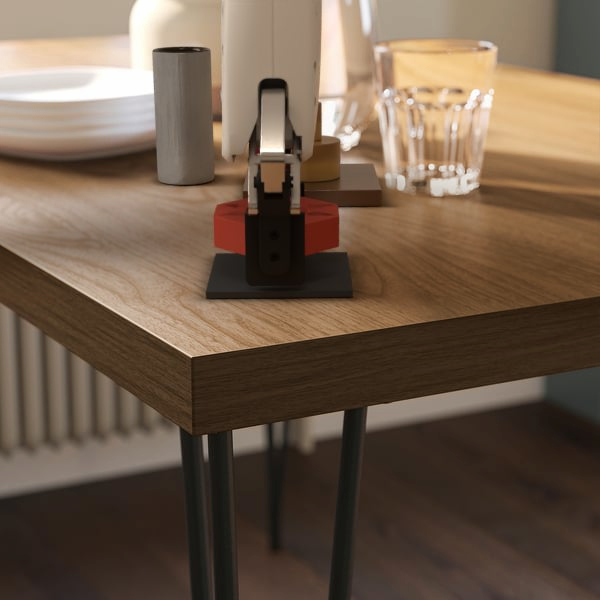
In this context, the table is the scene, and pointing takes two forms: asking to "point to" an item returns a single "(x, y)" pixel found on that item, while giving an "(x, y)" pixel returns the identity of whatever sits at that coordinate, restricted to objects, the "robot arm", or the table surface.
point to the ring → (317, 213)
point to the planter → (183, 115)
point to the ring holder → (335, 174)
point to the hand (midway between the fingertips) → (276, 262)
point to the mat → (318, 283)
